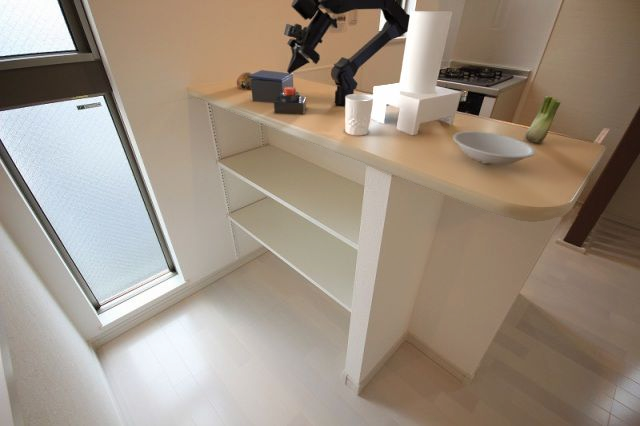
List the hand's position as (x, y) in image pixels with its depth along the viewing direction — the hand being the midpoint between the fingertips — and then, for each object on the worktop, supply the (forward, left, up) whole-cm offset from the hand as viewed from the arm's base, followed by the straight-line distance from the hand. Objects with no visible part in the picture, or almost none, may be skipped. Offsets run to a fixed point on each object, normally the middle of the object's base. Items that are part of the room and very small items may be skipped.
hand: (288, 72), depth 102 cm
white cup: (-24, +22, -12) cm, 34 cm away
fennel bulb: (-74, +24, -12) cm, 78 cm away
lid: (+9, -13, -4) cm, 17 cm away
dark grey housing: (+9, -13, -12) cm, 20 cm away
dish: (-55, +40, -12) cm, 69 cm away
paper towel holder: (-42, +10, -12) cm, 45 cm away
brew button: (-1, +3, -6) cm, 7 cm away
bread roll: (+24, -31, -12) cm, 41 cm away
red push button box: (-1, +3, -12) cm, 12 cm away
